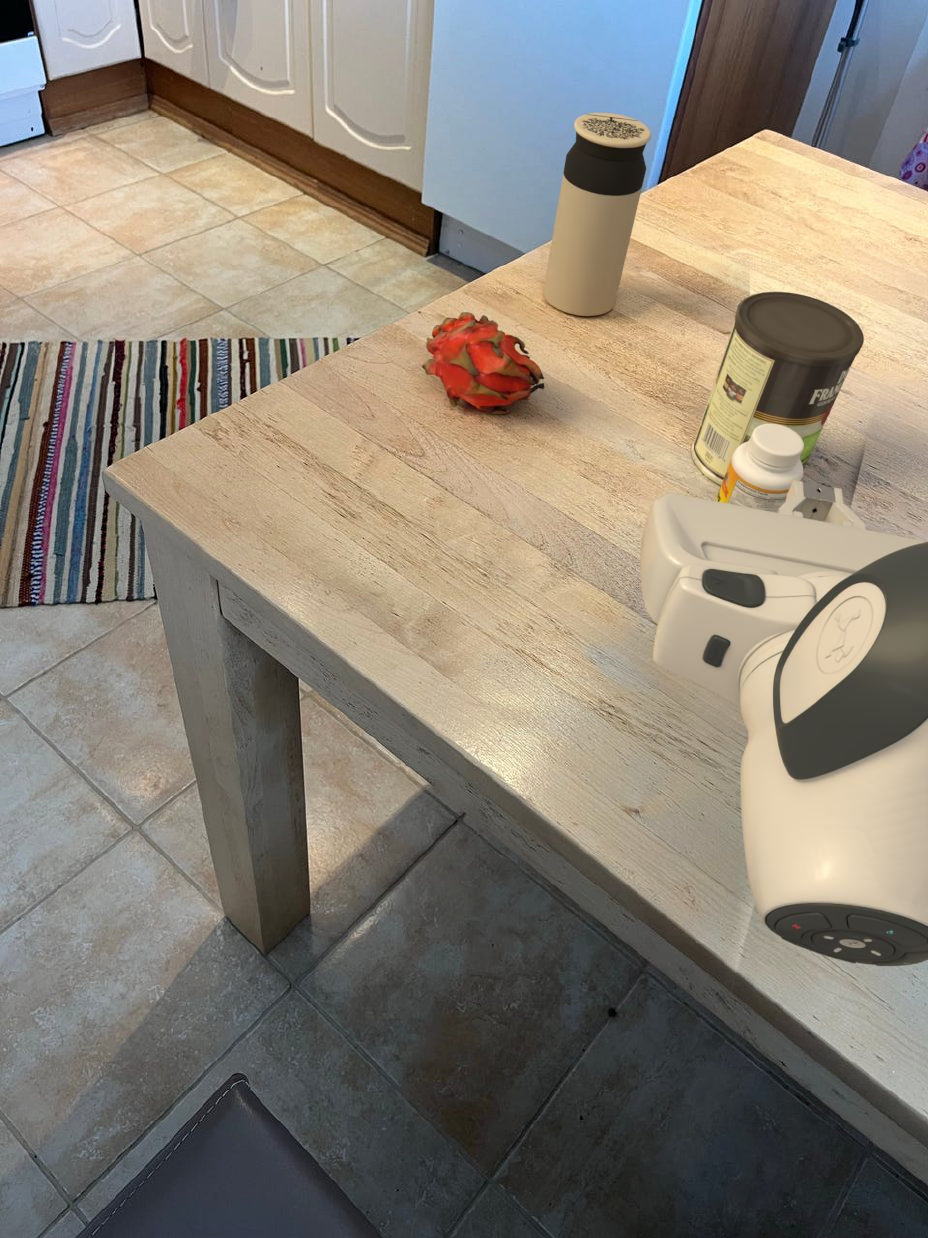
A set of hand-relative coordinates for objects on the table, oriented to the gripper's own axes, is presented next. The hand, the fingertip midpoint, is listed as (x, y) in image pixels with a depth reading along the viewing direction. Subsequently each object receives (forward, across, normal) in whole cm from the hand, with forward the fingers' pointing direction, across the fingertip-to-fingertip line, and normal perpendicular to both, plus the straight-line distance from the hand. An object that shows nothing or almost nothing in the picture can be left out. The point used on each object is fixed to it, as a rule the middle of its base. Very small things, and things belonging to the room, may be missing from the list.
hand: (813, 492), depth 59 cm
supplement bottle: (+14, 0, +16) cm, 21 cm away
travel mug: (+48, +18, +16) cm, 54 cm away
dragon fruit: (+26, +24, +16) cm, 39 cm away
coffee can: (+24, -1, +16) cm, 29 cm away
